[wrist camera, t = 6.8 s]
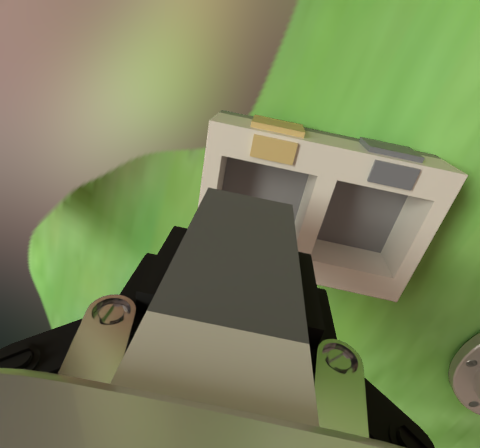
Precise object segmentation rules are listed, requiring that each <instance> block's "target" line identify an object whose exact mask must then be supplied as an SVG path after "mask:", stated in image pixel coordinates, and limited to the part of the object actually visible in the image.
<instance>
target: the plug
mask: <svg viewBox="0 0 480 448" xmlns="http://www.w3.org/2000/svg"><path fill="white" fill-rule="evenodd" d="M110 384H113V385H118V386H123V387H128V388H133V389H138V390H143V391H148V392H153V393H158V394H163V395H168V396H173V397H178V398H183V399H188V400H193V401H198V402H202V403H207V404H212V405H217V406H222V407H227V408H232V409H236V410H241V411H246V412H251V413H256V414H261V415H265V416H270V417H275V418H280V419H284V420H289V421H294V422H299V423H303V424H308V425H313V426H317V427H319V420H318V412H317V403H316V395H315V387H314V379H313V370H312V362H311V354H310V346H309V337H308V329H307V321H306V312H305V304H304V296H303V288H302V279H301V271H300V263H299V255H298V246H297V238H296V230H295V221H294V213H293V205H291V204H286V203H281V202H276V201H272V200H267V199H262V198H257V197H252V196H247V195H243V194H238V193H233V192H228V191H223V190H218V189H213V188H209V187H208V189H207V191H206V193H205V195H204V197H203V199H202V201H201V203H200V205H199V207H198V209H197V211H196V213H195V215H194V217H193V219H192V221H191V223H190V225H189V227H188V229H187V231H186V233H185V235H184V237H183V239H182V241H181V243H180V245H179V247H178V249H177V251H176V253H175V255H174V257H173V259H172V261H171V263H170V265H169V267H168V269H167V271H166V273H165V275H164V277H163V279H162V281H161V283H160V285H159V287H158V289H157V291H156V293H155V295H154V297H153V299H152V301H151V303H150V305H149V307H148V309H147V311H146V313H145V315H144V317H143V319H142V321H141V323H140V325H139V327H138V329H137V331H136V333H135V335H134V337H133V339H132V341H131V343H130V345H129V347H128V349H127V351H126V353H125V355H124V357H123V359H122V361H121V363H120V365H119V367H118V369H117V371H116V373H115V375H114V377H113V379H112V381H111V383H110Z"/></svg>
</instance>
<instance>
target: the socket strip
mask: <svg viewBox="0 0 480 448" xmlns="http://www.w3.org/2000/svg"><path fill="white" fill-rule="evenodd" d="M467 176H468V175H467V174H465V173H464V172H462V171H461V170H459V169H457V168H456V167H454V166H452V165H451V164H449V163H447V162H446V161H444V160H442V159H441V158H439V157H438V156H436V155H432V154H428V153H423V152H418V151H414V150H413V149H411V148H410V147H406V146H401V145H396V144H392V143H387V142H382V141H378V140H373V139H368V138H363V137H360V139H357V138H352V137H347V136H342V135H338V134H333V133H328V132H323V131H319V130H314V129H309V128H305V127H303V125H302V124H297V123H292V122H287V121H283V120H278V119H273V118H268V117H264V116H259V115H254V117H252V116H248V115H243V114H238V113H233V112H229V111H223V110H222V111H220V112H219V113H218V114H217V115H215V116H214V117H213V118H212V119H210V120H209V127H208V135H207V143H206V150H205V158H204V165H203V173H202V181H201V189H200V196H199V204H198V207H199V205H200V203H201V201H202V199H203V197H204V195H205V193H206V191H207V189H208V187H209V188H213V189H218V190H223V191H228V192H233V193H238V194H243V195H247V196H252V197H257V198H262V199H267V200H272V201H276V202H281V203H286V204H291V205H293V213H294V221H295V230H296V238H297V246H298V252H303V253H308V254H311V257H312V262H313V268H314V273H315V279H316V284H317V285H322V286H326V287H331V288H336V289H340V290H345V291H349V292H354V293H358V294H363V295H367V296H372V297H376V298H381V299H385V300H390V301H394V302H397V301H398V299H399V298H400V296H401V294H402V292H403V290H404V289H405V287H406V285H407V283H408V281H409V280H410V278H411V276H412V274H413V273H414V271H415V269H416V267H417V265H418V264H419V262H420V260H421V258H422V257H423V255H424V253H425V251H426V249H427V248H428V246H429V244H430V242H431V241H432V239H433V237H434V235H435V233H436V232H437V230H438V228H439V226H440V225H441V223H442V221H443V219H444V217H445V216H446V214H447V212H448V210H449V208H450V207H451V205H452V203H453V201H454V200H455V198H456V196H457V194H458V192H459V191H460V189H461V187H462V185H463V184H464V182H465V180H466V178H467Z"/></svg>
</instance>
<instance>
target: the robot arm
mask: <svg viewBox="0 0 480 448" xmlns="http://www.w3.org/2000/svg"><path fill="white" fill-rule="evenodd" d="M186 231H187V228H182V227H177V226H174V227H173V229H172V231H171V232H170V234H169V236H168V237H167V239H166V241H165V242H164V244H163V246H162V248H161V249H160V251H159V253H158V254H157V255H155V254H150V253H147V254H146V255H145V256H144V258H143V259H142V261H141V262H140V264H139V265H138V267H137V269H136V270H135V272H134V273H133V275H132V276H131V278H130V279H129V281H128V282H127V284H126V286H125V287H124V289H123V290H122V292H121V293H120V295H107V296H103V297H101V298H99V299H97V300H95V301H94V302H93V303H91V304H90V306H89V307H88V309H87V310H86V313H85V315H84V317H83V319H80V320H77V321H74V322H72V323H69V324H66V325H63V326H60V327H57V328H55V329H52V330H49V331H46V332H43V333H41V334H38V335H35V336H32V337H29V338H26V339H24V340H21V341H18V342H15V343H12V344H10V345H8V346H6V347H4V348H2V349H0V448H435V447H434V445H433V443H432V441H431V440H430V438H429V437H428V435H427V434H426V433H425V432H424V431H423V430H422V429H421V428H420V427H419V426H418V425H417V424H416V423H415V422H413V421H412V420H411V419H410V418H409V417H408V416H407V415H406V414H405V413H403V412H402V411H401V410H400V409H399V408H398V407H397V406H396V405H395V404H393V403H392V402H391V401H390V400H389V399H388V398H387V397H386V396H384V395H383V394H382V393H381V392H380V391H379V390H378V389H377V388H376V387H374V386H373V385H372V384H371V383H370V382H369V381H368V380H367V379H366V378H364V367H363V362H362V359H361V357H360V356H359V354H358V353H357V352H356V351H355V350H354V349H353V348H352V347H351V346H350V345H348V344H347V343H345V342H342V341H340V340H337V337H336V333H335V328H334V324H333V319H332V315H331V310H330V306H329V301H328V296H327V293H326V290H325V289H320V288H317V284H316V279H315V273H314V268H313V262H312V257H311V254H308V253H303V252H298V255H299V263H300V271H301V279H302V288H303V296H304V304H305V312H306V321H307V329H308V337H309V346H310V354H311V362H312V370H313V379H314V387H315V395H316V403H317V412H318V420H319V427H317V426H313V425H308V424H303V423H299V422H294V421H289V420H284V419H280V418H275V417H270V416H265V415H261V414H256V413H251V412H246V411H241V410H236V409H232V408H227V407H222V406H217V405H212V404H207V403H202V402H198V401H193V400H188V399H183V398H178V397H173V396H168V395H163V394H158V393H153V392H148V391H143V390H138V389H133V388H128V387H123V386H118V385H113V384H110V383H111V381H112V379H113V377H114V375H115V373H116V371H117V369H118V367H119V365H120V363H121V361H122V359H123V357H124V355H125V353H126V351H127V349H128V347H129V345H130V343H131V341H132V339H133V337H134V335H135V333H136V331H137V329H138V327H139V325H140V323H141V321H142V319H143V317H144V315H145V313H146V311H147V309H148V307H149V305H150V303H151V301H152V299H153V297H154V295H155V293H156V291H157V289H158V287H159V285H160V283H161V281H162V279H163V277H164V275H165V273H166V271H167V269H168V267H169V265H170V263H171V261H172V259H173V257H174V255H175V253H176V251H177V249H178V247H179V245H180V243H181V241H182V239H183V237H184V235H185V233H186ZM448 375H449V382H450V385H451V387H452V389H453V391H454V393H455V395H456V396H457V398H458V400H459V401H460V402H461V403H462V404H463V405H464V406H465V407H466V408H468V409H469V410H471V411H473V412H474V413H476V414H479V415H480V333H478V334H477V335H475V336H474V337H472V338H471V339H470V340H469V341H467V342H466V343H465V344H464V345H463V346H462V347H461V348H460V349H459V351H458V352H457V353H456V354H455V356H454V358H453V360H452V362H451V364H450V368H449V372H448Z"/></svg>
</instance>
